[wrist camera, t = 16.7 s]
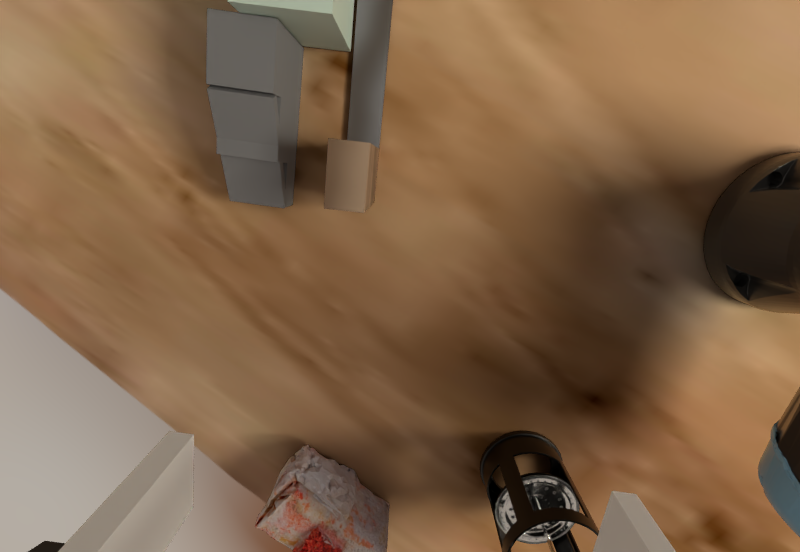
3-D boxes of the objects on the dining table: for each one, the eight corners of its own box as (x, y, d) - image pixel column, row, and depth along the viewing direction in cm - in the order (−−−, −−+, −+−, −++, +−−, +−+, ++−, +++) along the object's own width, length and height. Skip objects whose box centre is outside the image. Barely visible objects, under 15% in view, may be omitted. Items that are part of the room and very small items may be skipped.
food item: (267, 473, 49) (234, 548, 39) (308, 428, 47) (283, 495, 38) (358, 535, 51) (347, 619, 41) (400, 493, 49) (398, 572, 40)
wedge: (304, 48, 37) (277, 18, 30) (293, 205, 41) (266, 214, 33) (248, 40, 37) (207, 8, 30) (242, 198, 41) (204, 205, 33)
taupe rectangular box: (407, -156, 33) (408, -288, 24) (374, 201, 41) (363, 213, 31) (370, -161, 33) (355, -295, 24) (343, 198, 41) (323, 208, 31)
